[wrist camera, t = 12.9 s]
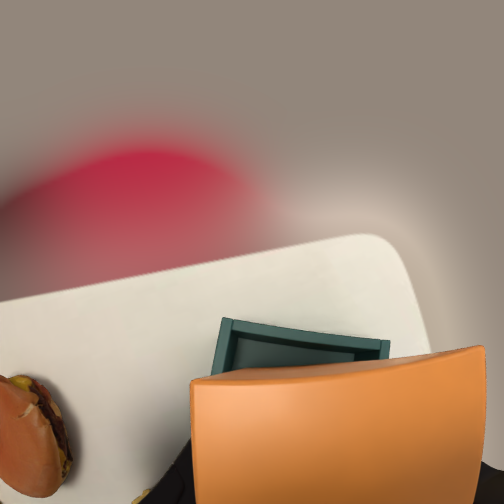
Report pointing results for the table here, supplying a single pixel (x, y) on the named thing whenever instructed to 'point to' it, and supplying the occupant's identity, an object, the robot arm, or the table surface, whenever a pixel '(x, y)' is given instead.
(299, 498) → the juice carton
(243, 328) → the teal open square box
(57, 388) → the table surface
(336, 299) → the table surface
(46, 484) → the burger
